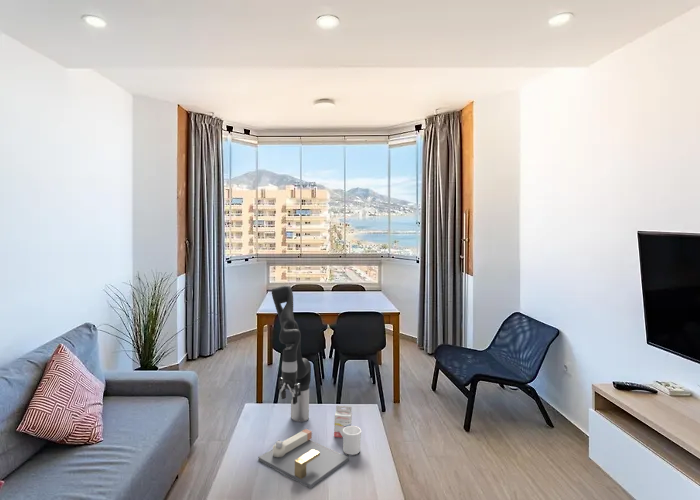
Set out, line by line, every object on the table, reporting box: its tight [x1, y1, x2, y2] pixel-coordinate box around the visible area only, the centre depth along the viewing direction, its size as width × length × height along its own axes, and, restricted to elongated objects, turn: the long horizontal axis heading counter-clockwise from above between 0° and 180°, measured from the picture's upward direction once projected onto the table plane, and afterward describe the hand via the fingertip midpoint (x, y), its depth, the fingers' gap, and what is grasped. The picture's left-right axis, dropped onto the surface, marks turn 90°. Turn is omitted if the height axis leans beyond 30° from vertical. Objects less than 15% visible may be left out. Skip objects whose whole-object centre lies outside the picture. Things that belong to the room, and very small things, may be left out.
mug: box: [342, 425, 362, 456], centre depth 197 cm, size 11×9×10 cm
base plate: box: [258, 439, 350, 489], centre depth 188 cm, size 32×26×2 cm
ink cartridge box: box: [333, 405, 353, 439], centre depth 211 cm, size 9×5×15 cm, turn 84°
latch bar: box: [272, 428, 313, 457], centre depth 196 cm, size 23×6×6 cm, turn 143°
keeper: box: [295, 449, 320, 479], centre depth 177 cm, size 4×12×8 cm, turn 143°
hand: (289, 401), depth 204 cm, fingers open, 8 cm apart
